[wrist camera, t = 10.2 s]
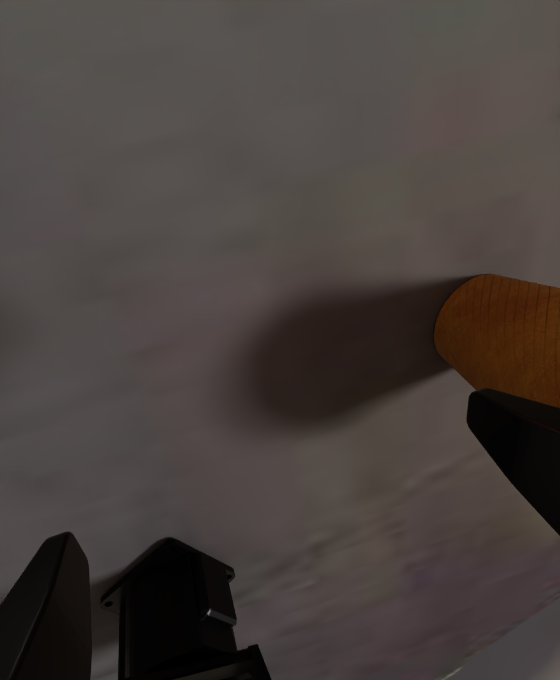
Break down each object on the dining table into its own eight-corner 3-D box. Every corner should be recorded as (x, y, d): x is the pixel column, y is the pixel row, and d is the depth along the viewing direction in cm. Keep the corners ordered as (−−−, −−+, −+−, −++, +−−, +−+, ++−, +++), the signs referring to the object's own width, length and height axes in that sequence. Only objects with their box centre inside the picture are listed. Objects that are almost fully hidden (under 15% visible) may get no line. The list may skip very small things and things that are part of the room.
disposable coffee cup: (407, 399, 28) (569, 551, 18) (415, 263, 23) (638, 361, 13) (521, 364, 30) (723, 481, 20) (548, 234, 25) (827, 299, 15)
